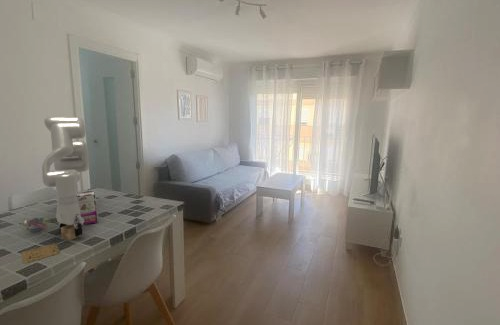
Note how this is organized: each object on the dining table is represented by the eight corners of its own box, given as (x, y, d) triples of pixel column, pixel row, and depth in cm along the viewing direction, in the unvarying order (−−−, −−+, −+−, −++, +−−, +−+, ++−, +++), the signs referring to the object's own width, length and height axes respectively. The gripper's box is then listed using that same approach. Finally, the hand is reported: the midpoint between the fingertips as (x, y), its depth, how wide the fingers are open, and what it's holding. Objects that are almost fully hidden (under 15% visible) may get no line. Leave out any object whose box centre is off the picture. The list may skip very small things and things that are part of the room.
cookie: (20, 253, 107) (20, 251, 107) (56, 244, 116) (56, 242, 116) (22, 265, 99) (22, 263, 99) (61, 254, 108) (60, 252, 107)
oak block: (61, 238, 120) (60, 227, 119) (73, 233, 126) (71, 223, 125) (70, 240, 119) (69, 229, 118) (81, 235, 124) (80, 224, 123)
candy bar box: (98, 219, 142) (95, 191, 140) (97, 223, 138) (95, 193, 135) (74, 223, 137) (71, 193, 134) (72, 226, 133) (69, 196, 130)
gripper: (45, 199, 118) (50, 234, 121) (73, 204, 113) (77, 240, 116) (62, 195, 125) (66, 227, 128) (88, 199, 120) (92, 233, 123)
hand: (71, 233), depth 122 cm, fingers open, 9 cm apart
